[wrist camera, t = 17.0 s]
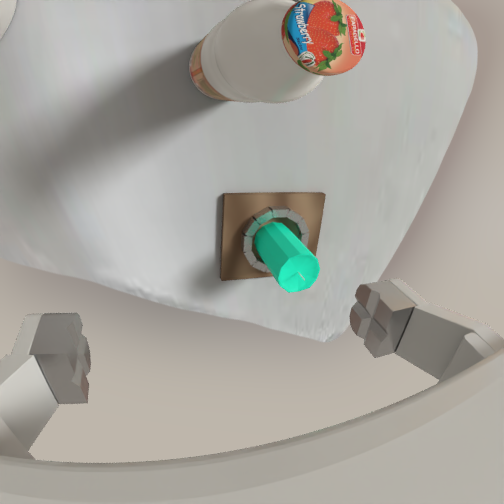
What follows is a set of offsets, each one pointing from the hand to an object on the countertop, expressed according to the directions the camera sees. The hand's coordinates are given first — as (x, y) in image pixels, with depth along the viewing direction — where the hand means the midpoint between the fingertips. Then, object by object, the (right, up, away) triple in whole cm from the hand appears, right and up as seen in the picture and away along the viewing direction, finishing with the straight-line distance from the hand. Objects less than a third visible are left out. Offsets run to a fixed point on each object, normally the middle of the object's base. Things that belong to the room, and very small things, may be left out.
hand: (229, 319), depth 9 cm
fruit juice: (-3, +26, +29) cm, 39 cm away
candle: (+4, +4, +42) cm, 43 cm away
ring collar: (+4, +4, +43) cm, 43 cm away
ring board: (+4, +4, +43) cm, 43 cm away
